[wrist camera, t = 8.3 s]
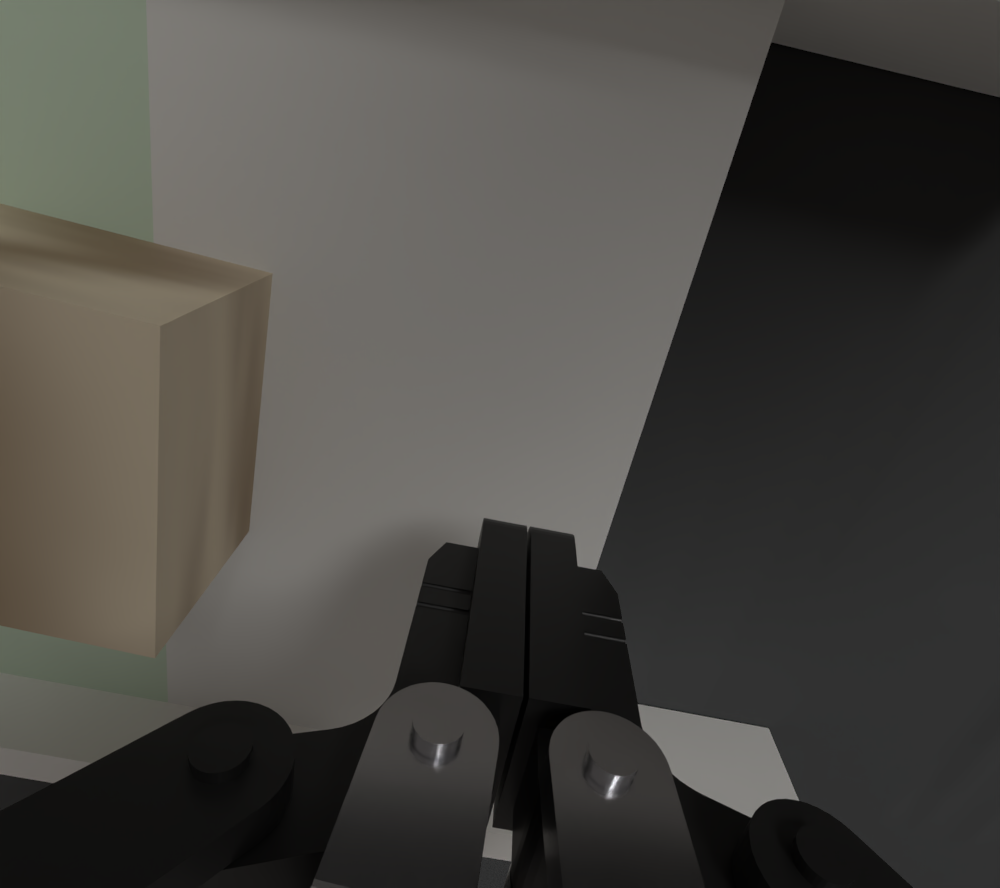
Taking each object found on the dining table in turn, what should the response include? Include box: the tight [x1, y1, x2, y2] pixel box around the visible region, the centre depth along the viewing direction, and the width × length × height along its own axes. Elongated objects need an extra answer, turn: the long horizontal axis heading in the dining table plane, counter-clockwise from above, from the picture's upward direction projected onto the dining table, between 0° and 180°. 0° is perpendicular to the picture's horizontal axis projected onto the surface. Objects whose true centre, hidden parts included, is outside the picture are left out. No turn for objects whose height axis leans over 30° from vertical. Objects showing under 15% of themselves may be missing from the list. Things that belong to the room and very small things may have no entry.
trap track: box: [0, 0, 1000, 861], centre depth 14 cm, size 32×20×5 cm, turn 78°
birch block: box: [0, 203, 273, 658], centre depth 11 cm, size 7×6×4 cm
